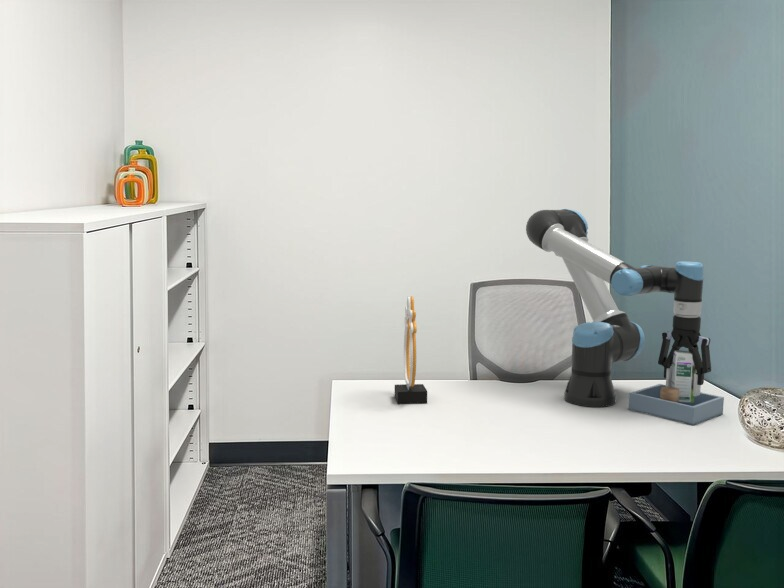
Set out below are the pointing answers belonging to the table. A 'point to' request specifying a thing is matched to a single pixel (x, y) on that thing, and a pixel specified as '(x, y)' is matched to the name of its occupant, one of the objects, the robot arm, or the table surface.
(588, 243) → the robot arm
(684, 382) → the syrup box
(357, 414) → the table surface
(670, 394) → the walnut cylinder
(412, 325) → the abstract figure sculpture
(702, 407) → the tote
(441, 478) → the table surface
